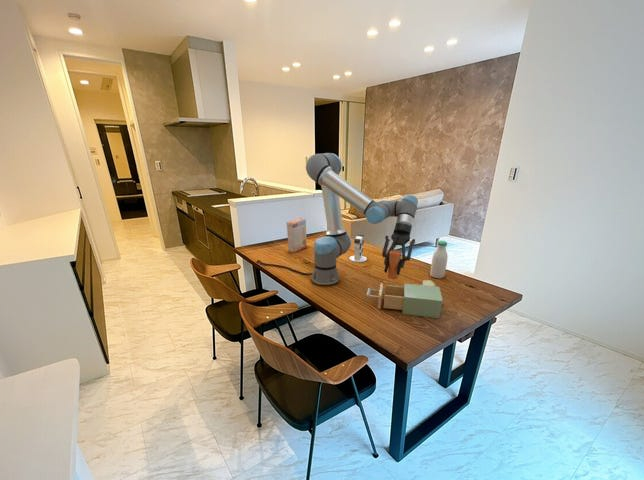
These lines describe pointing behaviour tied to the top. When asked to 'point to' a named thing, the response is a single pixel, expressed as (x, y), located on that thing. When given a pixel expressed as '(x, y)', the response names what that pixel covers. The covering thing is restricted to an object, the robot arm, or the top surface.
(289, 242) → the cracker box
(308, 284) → the top surface
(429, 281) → the stacked layers on plate
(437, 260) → the milk bottle
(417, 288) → the cabinet
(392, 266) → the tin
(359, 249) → the white post on base
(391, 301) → the drawer
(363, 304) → the top surface
